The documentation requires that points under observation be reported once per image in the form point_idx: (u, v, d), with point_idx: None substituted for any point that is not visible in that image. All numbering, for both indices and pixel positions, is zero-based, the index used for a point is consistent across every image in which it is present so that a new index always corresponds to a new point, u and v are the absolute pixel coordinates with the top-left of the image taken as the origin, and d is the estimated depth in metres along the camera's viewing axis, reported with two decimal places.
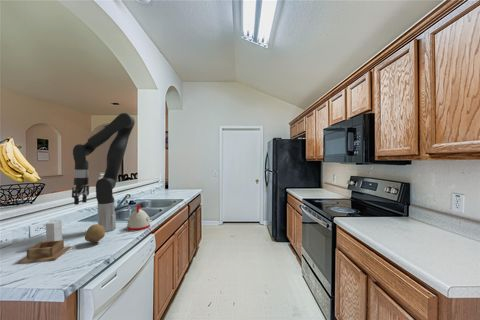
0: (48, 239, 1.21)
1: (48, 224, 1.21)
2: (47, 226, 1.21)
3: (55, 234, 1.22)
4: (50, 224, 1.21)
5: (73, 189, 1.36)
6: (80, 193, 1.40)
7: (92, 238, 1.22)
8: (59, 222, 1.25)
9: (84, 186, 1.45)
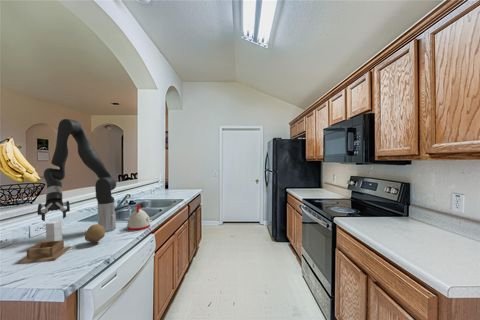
0: (48, 239, 1.21)
1: (48, 224, 1.21)
2: (47, 226, 1.21)
3: (55, 234, 1.22)
4: (50, 224, 1.21)
5: None
6: (45, 208, 1.29)
7: (92, 238, 1.22)
8: (59, 222, 1.25)
9: (57, 202, 1.35)
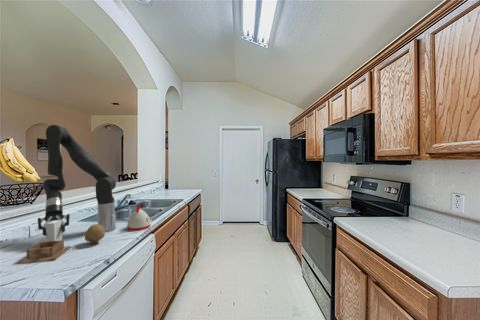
0: (48, 239, 1.21)
1: (48, 224, 1.21)
2: (47, 226, 1.21)
3: (55, 234, 1.22)
4: (50, 224, 1.21)
5: None
6: (46, 222, 1.23)
7: (92, 238, 1.22)
8: (59, 222, 1.25)
9: (58, 214, 1.29)
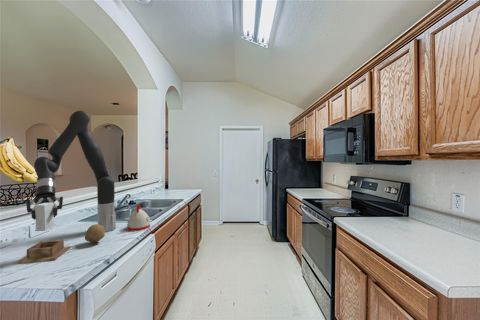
0: (38, 223, 1.07)
1: (38, 206, 1.07)
2: (37, 208, 1.07)
3: (45, 217, 1.08)
4: (40, 206, 1.07)
5: (26, 203, 1.10)
6: (35, 204, 1.09)
7: (92, 238, 1.22)
8: (50, 204, 1.11)
9: (49, 197, 1.15)
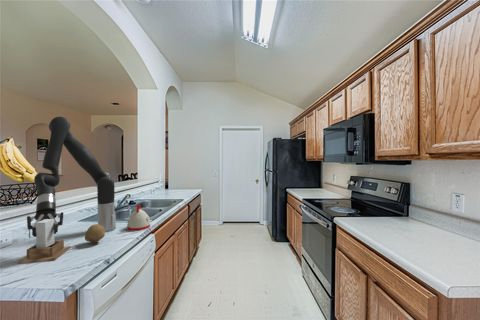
0: (38, 240, 1.07)
1: (38, 223, 1.07)
2: (37, 226, 1.07)
3: (46, 234, 1.08)
4: (41, 223, 1.07)
5: (27, 220, 1.10)
6: (36, 221, 1.09)
7: (92, 238, 1.22)
8: (51, 221, 1.11)
9: (50, 213, 1.15)
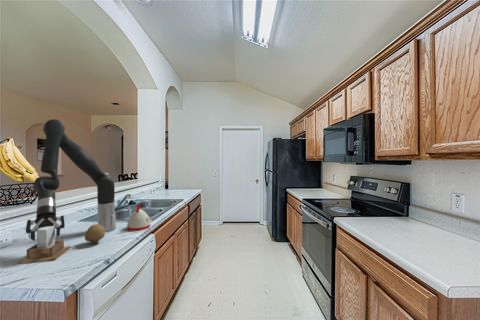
0: (39, 247, 1.07)
1: (39, 231, 1.07)
2: (38, 233, 1.07)
3: (47, 241, 1.08)
4: (42, 231, 1.07)
5: None
6: (35, 225, 1.09)
7: (92, 238, 1.22)
8: (52, 228, 1.12)
9: (50, 217, 1.15)
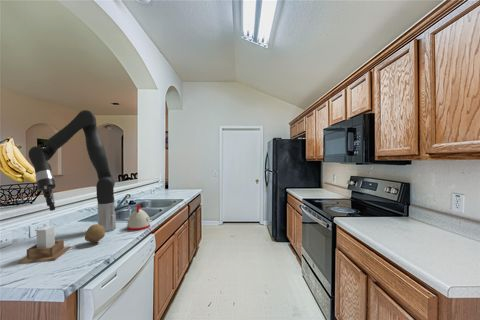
0: None
1: (39, 231, 1.07)
2: (38, 233, 1.07)
3: (47, 241, 1.08)
4: (41, 231, 1.07)
5: (44, 187, 1.20)
6: (51, 193, 1.23)
7: (92, 238, 1.22)
8: (52, 228, 1.12)
9: None
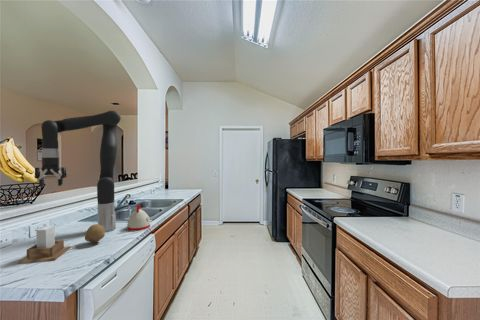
0: None
1: (39, 231, 1.07)
2: (38, 233, 1.07)
3: (47, 241, 1.08)
4: (41, 231, 1.07)
5: (64, 169, 1.31)
6: None
7: (92, 238, 1.22)
8: (52, 228, 1.12)
9: None
